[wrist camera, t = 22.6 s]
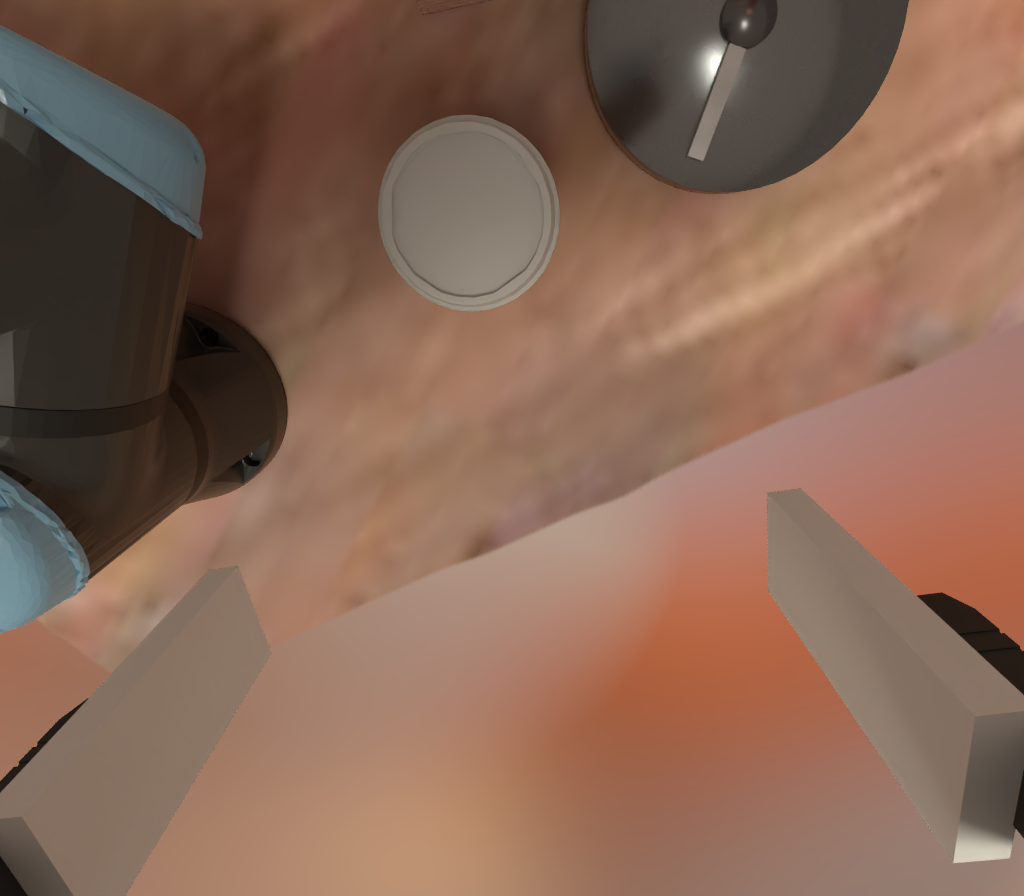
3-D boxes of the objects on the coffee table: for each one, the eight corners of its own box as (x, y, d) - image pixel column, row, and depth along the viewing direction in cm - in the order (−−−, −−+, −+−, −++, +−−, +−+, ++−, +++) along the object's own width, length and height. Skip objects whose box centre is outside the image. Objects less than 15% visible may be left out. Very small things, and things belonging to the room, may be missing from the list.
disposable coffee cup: (461, 114, 38) (434, 63, 26) (578, 202, 39) (599, 189, 28) (390, 241, 40) (338, 244, 29) (501, 318, 42) (493, 349, 31)
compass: (800, 230, 38) (857, 230, 32) (544, 142, 37) (549, 122, 30) (949, -97, 32) (1059, -182, 26) (650, -219, 31) (684, -343, 24)
